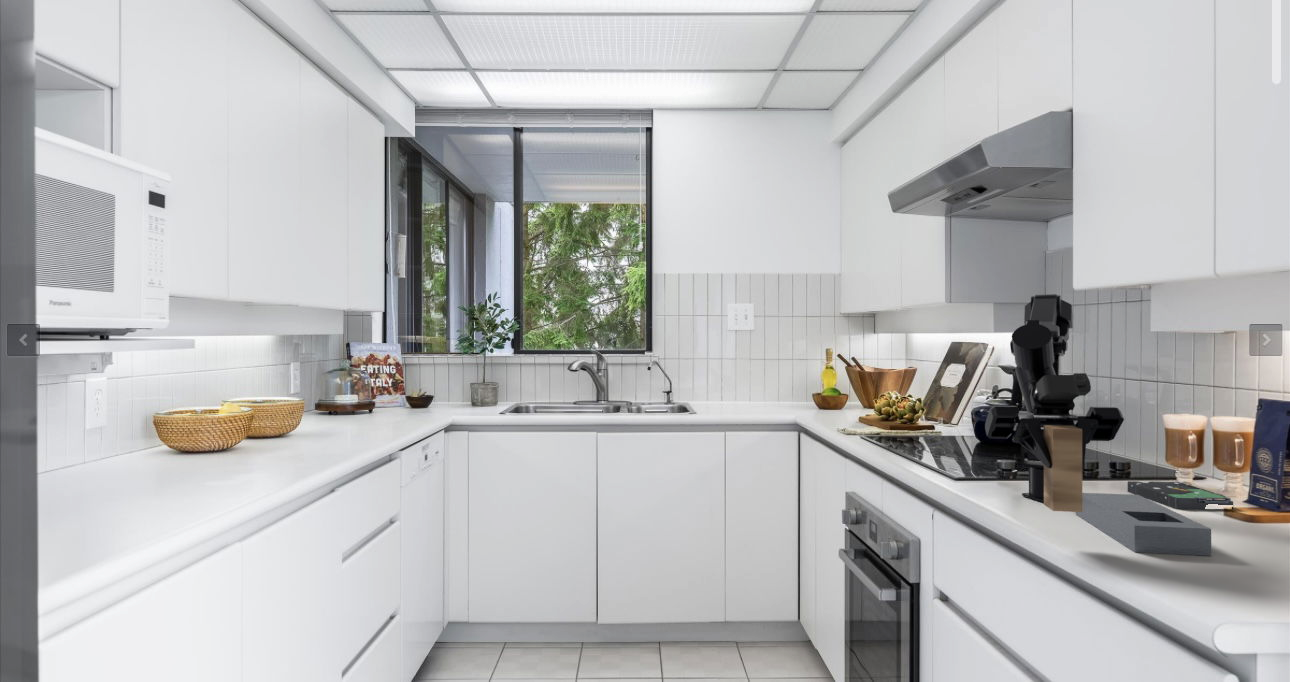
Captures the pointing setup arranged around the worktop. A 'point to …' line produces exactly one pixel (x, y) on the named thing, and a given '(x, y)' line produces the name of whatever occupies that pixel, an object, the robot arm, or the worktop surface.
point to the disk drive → (1177, 495)
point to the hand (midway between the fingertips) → (1066, 467)
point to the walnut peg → (1063, 468)
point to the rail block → (1145, 525)
